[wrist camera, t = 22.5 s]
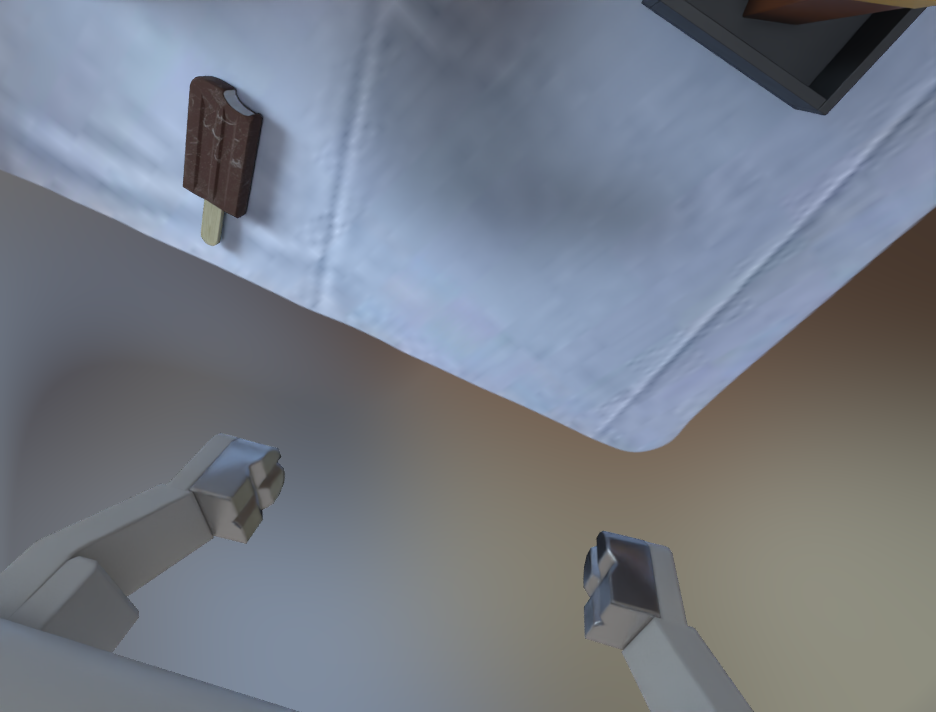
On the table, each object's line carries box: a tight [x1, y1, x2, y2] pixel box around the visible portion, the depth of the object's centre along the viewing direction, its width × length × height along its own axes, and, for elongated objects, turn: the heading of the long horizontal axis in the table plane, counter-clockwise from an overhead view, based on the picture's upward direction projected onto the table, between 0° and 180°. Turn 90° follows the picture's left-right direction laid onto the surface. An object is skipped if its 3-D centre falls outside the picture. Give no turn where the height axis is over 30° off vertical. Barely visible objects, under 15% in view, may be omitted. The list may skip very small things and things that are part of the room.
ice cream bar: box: [183, 76, 262, 246], centre depth 37 cm, size 5×2×15 cm
